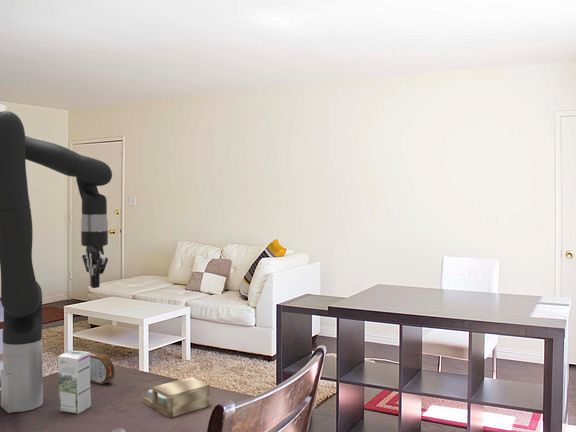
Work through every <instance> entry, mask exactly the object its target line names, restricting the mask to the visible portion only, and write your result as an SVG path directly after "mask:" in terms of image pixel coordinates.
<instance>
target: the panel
mask: <svg viewBox="0 0 576 432" xmlns="http://www.w3.org/2000/svg"><path fill="white" fill-rule="evenodd" d="M147 397H148V398H150V399H152V388H151V389H148V390H147ZM158 403H159V404H161V405H163V406H165V407H167V397H165V396H163V395H161V394H159V393H158Z"/></svg>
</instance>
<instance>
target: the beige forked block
mask: <svg viewBox="0 0 576 432" xmlns="http://www.w3.org/2000/svg"><path fill="white" fill-rule="evenodd" d="M151 389H152V399H150V398H148V396H143V397H142V403H143V404H144V405H145V406H148V407H149V408H151V409H153V410H154V409H155V410H154V411H156V412H158V413H160V414H161V415H163V416H165V417H167V418H169V419H171V418H173V417H177V416H180V415H181V416H182V415H185V414H188V413H190V412H193V411H194V412H195V411H197V410H201V409H204V408H208V407H210V406H211V402H210V401H211V385H210V383H207V382H204V381H202V380H200V379H197V378H196V377H193V376H191V377H186V378H182V379H178V380H174V381H170V382H166V383H163V384H158V385H154V386H151ZM158 393H159V394H161V395H163V396H165V397H167V407H165V406H163V405H161V404H159V403H158Z"/></svg>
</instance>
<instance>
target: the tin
mask: <svg viewBox="0 0 576 432" xmlns="http://www.w3.org/2000/svg"><path fill="white" fill-rule="evenodd" d="M82 352H90V383H91V382H92V383H94V384H97V385H104V384H106V383H109V382H111V381H113V378H114V377H115V367H114V363H113V361H112V359H111V358H110V357H109V356H108V355H107V354H104V353H100V352H96V351H92V350H89V349H88V350H84V351H82Z"/></svg>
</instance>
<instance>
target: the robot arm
mask: <svg viewBox="0 0 576 432" xmlns="http://www.w3.org/2000/svg"><path fill="white" fill-rule="evenodd" d="M26 160H27V161H29V162H32V163H36V164H38V165H40V166H43V167H45V168H48V169H50V170H53V171H55V172H58V173H60V174H62V175H64V176H68V177H73V178H75V180H76V184H77V187H78V192H79V196H80V198H81V199H80V200H81V220H80V242H81V243H80V244H81V246H83V247H85V254H82V255H81V256H82V257H81V258H82V261H83V265H84V267H85V271H86V273H88V275H89V276H90V277H89V279H90V283H89V285H90V286H89V287H90V288H93V289H98V288H100V284H101V283H100V276H101V275H102V274H104V272H105V269H106V267H107V264H108V261H109V258H108V257H105V256H104V255H105V253H104V252H105V251H104V246H107V245H108V244H109V231H108V230H109V229H108V225H109V223H108V222H109V221H108V212H107V211H108V210H107V209H108V207H107V205H108V204H107V200H108V199H107V197H106V196H105V195H104V194H101V193H100V192H99V190H98V189H99V188H98V187H103V186H106V185H107V184H109V183H110V182H111V180H112V178H113V172H112V169H111V167H110V166H109V165H108V164H107V163H106V162H104V161H102V160H99V159H96V158H93V157H90V156H86V155H83V154H79V153H77V152H76V151H74V150H72V149H69V148H67V147H66V146H62V145H60V144H56V143H54V142H50V141H45V140H41V139H37V138H33V137H30V136H27V135H26V132H25V127H24V124H23V122H22V120H21V119H20V117H19V116H18V115H17V114H16V113H14V112H12V111H9V110H3V111H0V302H1V306H2V308H3V324H2V325H3V326H2V370H0V407H1V408H2V409H3V410H4V411H6V413H8V414H11V413H22V412H23V413H24V412H28V411H31V410H36V409H38V408H39V407H42V405H43V404H44V400H43V397H44V393H43V391H44V389H43V388H44V387H43V291H42V287H41V285H40V284H39V282H37V280H36V275H35V270H34V266H33V265H34V264H33V257H32V256H33V238H34V237H33V235H34V234H33V231H34V230H33V229H34V228H33V218H32V217H33V216H32V209H31V202H30V197H29V196H30V195H29V187H28V177H27V168H26V167H27V165H26V163H27V162H26Z"/></svg>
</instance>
